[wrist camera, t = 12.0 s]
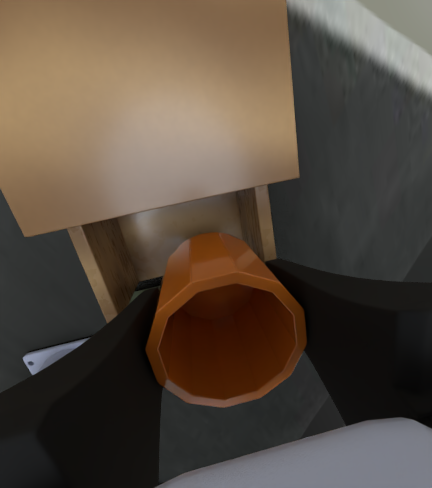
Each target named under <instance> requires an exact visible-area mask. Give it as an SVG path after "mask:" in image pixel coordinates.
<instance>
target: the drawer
mask: <svg viewBox="0 0 432 488" xmlns="http://www.w3.org/2000/svg"><path fill="white" fill-rule="evenodd" d="M67 231H68V233H69V235H70V238H71V240H72V242H73V245H74V247H75V249H76V252H77V254H78V256H79V259H80V261H81V263H82V266H83V268H84V270H85V273H86V275H87V277H88V280H89V282H90V284H91V286H92V289H93V291H94V293H95V296H96V298H97V300H98V303H99V305H100V307H101V310H102V312H103V314H104V317H105V319H106V321H107V324H108V323H109V322H110V321H111V320H112V319H114V318H115V317H116V316H117V315H118V314H119V313H120V312H121V311H122V310H123V309H125V308H126V307H127V306H128V305H129V304H130V303H131V302H132V301H133V300H134V299H135V298H136V297H137V296H138V295H139V294H141V293H142V292H143V291H144V290H147V289H144V290H140V291H136V292H135V289H136V287H137V285H138V283H139V282H140V281H144V280H148V279H152V278H157V277H161V276H163V274H164V271H165V267H166V264H167V261H168V258H169V257H170V256H171V255H172V253H173V252H174V250H175V249H176V248H177V247H178V246H179V245H181V244H182V243H183V242H185V241H186V240H188V239H190V238H192V237H194V236H196V235H199V234H203V233H209V232H220V233H226V234H230V235H233V236H235V237H237V238H239V239H241V240H243V241H245V242H246V243H247V244H248V246H249V247H250V248H251V249H252V250H253V251H254V252H255V253H256V255H257V256H258V257H259V258H260V259H261V260H262V261H263V263H264V264H265V261H269V260H274V259H276V251H275V242H274V234H273V226H272V218H271V210H270V202H269V193H268V185H263V186H258V187H254V188H249V189H245V190H240V191H235V192H231V193H226V194H222V195H217V196H213V197H208V198H203V199H199V200H194V201H190V202H185V203H181V204H176V205H172V206H167V207H162V208H158V209H153V210H149V211H144V212H140V213H135V214H131V215H126V216H121V217H117V218H112V219H108V220H103V221H99V222H94V223H89V224H85V225H80V226H76V227H71V228H67ZM265 265H266V264H265ZM157 287H158V289H160V286H157ZM153 288H156V287H153ZM149 289H151V288H149Z"/></svg>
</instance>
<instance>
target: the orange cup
mask: <svg viewBox="0 0 432 488" xmlns="http://www.w3.org/2000/svg"><path fill="white" fill-rule="evenodd" d="M306 345H307V337H306V324H305V312H304V309H303V307H302V306H301V305H300V304H299V303H298V302H297V300H296V299H295V298H294V297H293V296H292V295H291V294H290V292H289V291H288V290H287V289H286V288H285V287H284V285H283V284H282V283H281V282H280V281H279V280H278V279H277V277H276V276H275V275H274V274H273V273H272V272H271V271H270V269H269V268H268V267H267V266H266V265H265V264H264V263H263V261H262V260H261V259H260V258H259V257H258V256H257V255H256V253H255V252H254V251H253V250H252V249H251V248H250V247H249V246H248V244H247V243H246V242H245V241H243V240H241V239H239V238H237V237H235V236H233V235H230V234H226V233H220V232H209V233H203V234H199V235H196V236H194V237H192V238H190V239H188V240H186V241H185V242H183V243H182V244H181V245H179V246H178V247H177V248H176V249H175V250H174V252H173V253H172V255H171V256H170V257H169V258H168V261H167V264H166V267H165V271H164V274H163V278H162V281H161V285H160V289H159V294H158V298H157V302H156V306H155V310H154V314H153V318H152V323H151V327H150V331H149V335H148V339H147V343H146V347H145V349H146V350H145V351H146V354H147V356H148V359H149V361H150V364H151V367H152V369H153V372H154V375H155V377H156V380H157V382H158V383H159V384H160V385H161V386H163V387H164V388H166V389H167V390H169V391H170V392H171V393H173V394H174V395H176V396H177V397H179V398H180V399H182V400H183V401H185V402H186V403H190V404H198V405H206V406H214V407H222V408H224V407H229V406H233V405H236V404H240V403H244V402H247V401H251V400H255V399H258V398H261V397H263V396H264V395H265V394H267V393H268V392H269V391H271V390H272V389H273V388H275V387H276V386H277V385H278V384H280V383H281V382H282V381H284V380H285V379H286V378H288V377H289V376H290V375H291V374H292V372H293V370H294V368H295V366H296V364H297V362H298V360H299V358H300V356H301V355H302V353H303V351H304V349H305V347H306Z"/></svg>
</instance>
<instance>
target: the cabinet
mask: <svg viewBox="0 0 432 488" xmlns="http://www.w3.org/2000/svg"><path fill="white" fill-rule="evenodd" d="M295 178H299V165H298V152H297V139H296V126H295V113H294V100H293V87H292V74H291V60H290V47H289V34H288V21H287V8H286V0H0V188H1V190H2V192H3V194H4V196H5V198H6V200H7V202H8V204H9V206H10V208H11V210H12V212H13V214H14V216H15V218H16V220H17V222H18V224H19V226H20V228H21V230H22V232H23V234H24V236H25V237H30V236H35V235H39V234H44V233H48V232H53V231H58V230H62V229H67V228H71V227H76V226H80V225H85V224H89V223H94V222H99V221H103V220H108V219H112V218H117V217H121V216H126V215H131V214H135V213H140V212H144V211H149V210H153V209H158V208H162V207H167V206H172V205H176V204H181V203H185V202H190V201H194V200H199V199H203V198H208V197H213V196H217V195H222V194H226V193H231V192H235V191H240V190H245V189H249V188H254V187H258V186H263V185H267V184H272V183H276V182H281V181H286V180H290V179H295Z"/></svg>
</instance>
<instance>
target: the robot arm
mask: <svg viewBox="0 0 432 488" xmlns="http://www.w3.org/2000/svg"><path fill="white" fill-rule="evenodd" d="M265 264H266V266H267V267H268V268H269V269H270V271H271V272H272V273H273V274H274V275H275V276H276V277H277V279H278V280H279V281H280V282H281V283H282V284H283V285H284V287H285V288H286V289H287V290H288V291H289V292H290V294H291V295H292V296H293V297H294V298H295V299H296V300H297V302H298V303H299V304H300V305H301V306H302V307H303V309H304V312H305V324H306V337H307V345H306V347H305V349H304V351H305V353H306V354H307V356H308V357H309V359H310V360H311V362H312V364H313V366H314V367H315V369H316V371H317V373H318V374H319V376H320V378H321V380H322V381H323V383H324V385H325V387H326V389H327V391H328V392H329V394H330V396H331V398H332V400H333V402H334V403H335V405H336V407H337V409H338V411H339V413H340V414H341V417H342V419H343V420H344V422H345V424H346V427H342V428H339V429H335V430H332V431H328V432H325V433H321V434H318V435H314V436H311V437H308V438H304V439H301V440H297V441H294V442H290V443H287V444H283V445H280V446H276V447H273V448H269V449H266V450H262V451H259V452H256V453H252V454H249V455H245V456H242V457H238V458H235V459H231V460H228V461H224V462H221V463H217V464H214V465H210V466H207V467H204V468H200V469H197V470H193V471H190V472H186V473H183V474H181V475H179V476H177V477H175V478H173V479H171V480H169V481H167V482H165V483H163V484H161V485H159V438H160V413H161V397H162V388H163V386H161V385H160V384H159V383H158V382H157V380H156V377H155V375H154V372H153V369H152V367H151V364H150V361H149V359H148V356H147V354H146V351H145V350H146V349H145V347H146V343H147V339H148V335H149V331H150V327H151V323H152V318H153V314H154V310H155V306H156V302H157V298H158V294H159V289H158V287H156V288H151V289H147V290H144V291H143V292H142V293H141V294H139V295H138V296H137V297H136V298H135V299H134V300H133V301H132V302H131V303H130V304H129V305H128V306H127V307H126V308H125V309H123V310H122V311H121V312H120V313H119V314H118V315H117V316H116V317H115V318H114V319H112V320H111V321H110V322H109V323H108V324H107V325H106V326H104V327H103V328H102V329H101V330H100V331H98V332H97V333H96V334H95V335H93V336H92V337H90V338H86V339H82V340H78V341H74V342H70V343H66V344H62V345H58V346H54V347H50V348H46V349H42V350H38V351H33V352H29V353H27V354H26V355H25V356H24V357H23V361H24V362H25V364H26V365H27V367H28V369H29V370H30V372H31V374H32V376H31V377H29V378H27V379H25V380H24V381H22V382H20V383H18V384H16V385H15V386H13V387H11V388H9V389H7V390H5V391H3V392H1V393H0V488H432V283H418V282H394V281H382V280H371V279H363V278H356V277H349V276H343V275H338V274H333V273H329V272H325V271H321V270H317V269H313V268H310V267H306V266H303V265H299V264H296V263H293V262H289V261H286V260H282V259H274V260H269V261H265ZM31 361H32V362H31ZM158 485H159V486H158Z"/></svg>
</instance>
